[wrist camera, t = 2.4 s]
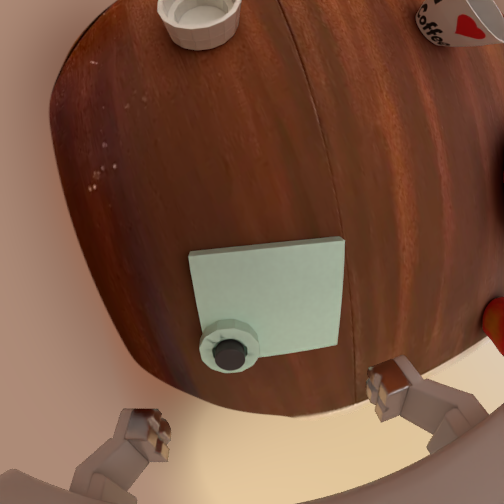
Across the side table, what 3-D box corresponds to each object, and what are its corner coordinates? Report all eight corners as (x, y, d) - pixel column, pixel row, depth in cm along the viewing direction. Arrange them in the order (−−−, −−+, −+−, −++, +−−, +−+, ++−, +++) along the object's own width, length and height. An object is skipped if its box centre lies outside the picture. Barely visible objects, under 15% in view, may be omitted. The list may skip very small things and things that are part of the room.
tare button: (217, 361, 26) (217, 372, 24) (213, 340, 25) (212, 350, 23) (245, 359, 26) (246, 369, 24) (242, 337, 25) (243, 347, 23)
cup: (393, 3, 17) (443, -30, 7) (430, 0, 16) (477, -23, 7) (430, 61, 19) (492, 45, 10) (462, 52, 19) (516, 40, 9)
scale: (206, 356, 29) (205, 375, 26) (186, 251, 24) (181, 263, 22) (332, 340, 29) (341, 356, 27) (339, 235, 25) (352, 245, 22)
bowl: (169, 57, 18) (156, 35, 14) (169, 6, 16) (159, -20, 12) (240, 48, 19) (243, 24, 14) (235, -2, 17) (238, -30, 12)
